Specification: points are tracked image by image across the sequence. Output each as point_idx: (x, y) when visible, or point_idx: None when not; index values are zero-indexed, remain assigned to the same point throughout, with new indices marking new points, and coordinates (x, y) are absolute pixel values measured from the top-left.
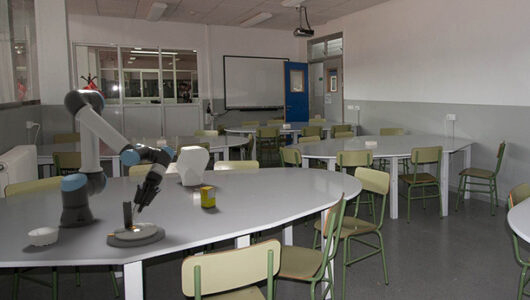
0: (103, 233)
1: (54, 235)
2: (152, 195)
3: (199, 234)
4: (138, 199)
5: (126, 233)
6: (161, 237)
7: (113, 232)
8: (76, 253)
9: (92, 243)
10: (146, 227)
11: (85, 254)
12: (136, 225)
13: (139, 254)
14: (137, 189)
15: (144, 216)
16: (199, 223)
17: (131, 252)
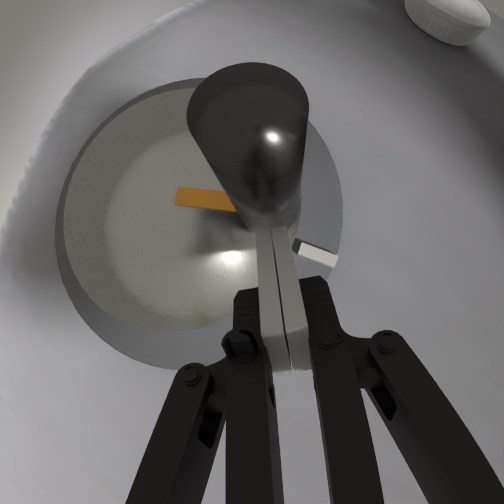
0: (393, 150)
1: (415, 2)
2: (138, 500)
3: (8, 375)
4: (340, 388)
5: (161, 125)
6: (61, 260)
7: (325, 152)
8: (250, 7)
9: (298, 59)
10: (135, 253)
11: (214, 17)
12: (226, 244)
13: (53, 120)
14: (498, 499)
15: None
16: (95, 492)
17: (82, 108)
